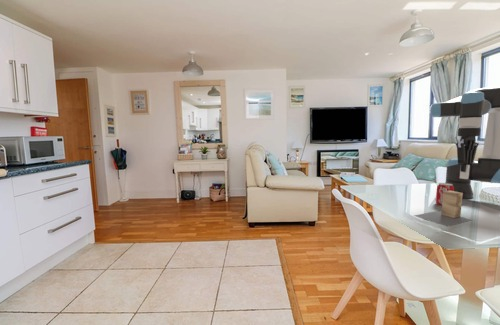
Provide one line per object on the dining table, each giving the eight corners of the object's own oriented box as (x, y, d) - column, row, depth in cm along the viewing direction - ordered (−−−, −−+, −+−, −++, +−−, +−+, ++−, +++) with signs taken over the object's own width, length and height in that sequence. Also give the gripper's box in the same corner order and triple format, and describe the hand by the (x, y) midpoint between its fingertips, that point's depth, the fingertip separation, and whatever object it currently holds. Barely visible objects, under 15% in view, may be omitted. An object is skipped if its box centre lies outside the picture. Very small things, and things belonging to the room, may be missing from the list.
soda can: (455, 208, 123) (457, 185, 122) (439, 207, 125) (441, 185, 123) (447, 204, 130) (449, 182, 129) (432, 203, 132) (434, 182, 130)
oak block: (448, 213, 114) (450, 190, 112) (460, 216, 109) (462, 192, 108) (441, 215, 112) (443, 191, 111) (453, 218, 107) (455, 194, 106)
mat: (438, 211, 118) (438, 210, 118) (472, 221, 105) (473, 220, 105) (413, 216, 112) (413, 215, 112) (447, 227, 99) (447, 226, 99)
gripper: (467, 127, 114) (462, 176, 117) (450, 127, 109) (446, 178, 112) (488, 127, 107) (482, 178, 110) (470, 127, 102) (465, 181, 105)
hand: (463, 178), depth 111 cm, fingers closed
